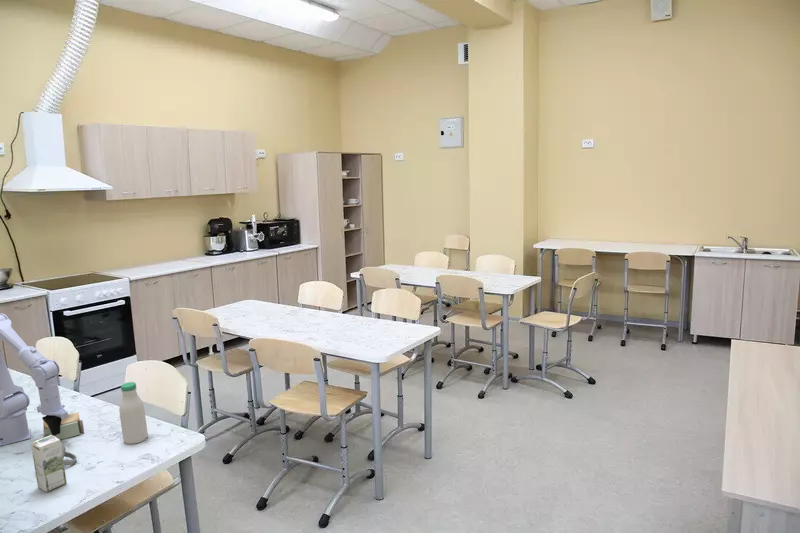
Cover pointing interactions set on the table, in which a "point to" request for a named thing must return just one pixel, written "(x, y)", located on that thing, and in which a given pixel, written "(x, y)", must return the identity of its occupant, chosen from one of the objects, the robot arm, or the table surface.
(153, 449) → the table surface
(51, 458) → the syrup box
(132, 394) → the milk bottle
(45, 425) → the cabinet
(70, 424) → the door
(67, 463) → the ceramic mug
